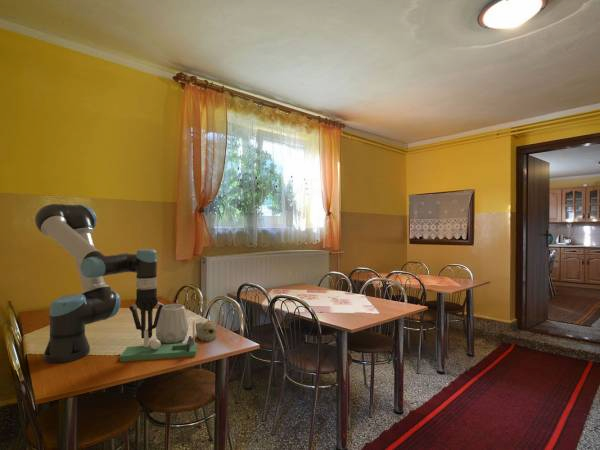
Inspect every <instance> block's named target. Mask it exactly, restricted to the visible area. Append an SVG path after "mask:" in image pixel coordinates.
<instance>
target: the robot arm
mask: <svg viewBox="0 0 600 450" xmlns="http://www.w3.org/2000/svg"><path fill="white" fill-rule="evenodd" d="M34 216H35V217H34V224H35V226H36V228H37V229H38V230H39V232H41V233H42V234H43V235H44V236H46V237H50V238H51V239H52V240H54V241H55V242H56V244H58V245H60V246H61V247H62V248H63V249H64V250H65V251H66V252H67V253H68V254H70V256H72V257H73V258H74V262H75V265H76V269H77V272H78V276H79V279H80V283H81V287H82V291H81V293H76V294H69V295H67V294H66V295H63V296H60V297H58V298H56V299H54V300H52V302H51V304H50V305H49V306H50V307H49V313H48V314H49V339H48V342H47V345H46V348H45V350H44V353H43V360H44V361H45V362H46V363H49V364H50V363H51V364H61V363H67V362H71V361H76V360H79V359H82V358H84V357H86V356H87V355H89V354H90V351H91V349H90V347H91V346H90V343H89V340H88V338H87V336H86V325H90V324H94V323H97V322H100V321H106V320H108V319H110V318H113V317H115V316H116V315H117V314H118V312H119V310H120V308H121V296H120V294H119V293H118V292H117V291H116V290H112V289H111V285H109V284H106V282H105V281H106V280H105V279H104V277H105V276H111V275H117V274H124V273H136V280H135V281H136V288H137V289H136V293H135V294H136V295H135V296H136V299H135V302H134V303H133V304H131V305H129V306H128V309H129V310H130V312H131V313H132V318H133V322H134V325H135V329H136V330H140V331H141V332H140V334H141V335H140V336H141V339H143V346H144V347H148V346H149V345H150V344H151V341H150V339H151V338H152V337H153V330H154V329H156V326H157V324H158V320H159V316H160V312H161V309H162V307H163V306H165V304H164V303H161V302H159V299H158V291H157V289H158V288H157V285H158V278H157V277H158V276H157V275H158V274H157V270H158V269H157V267H158V255H157V250H155V249H138V250H137V251H136V253H128V252H127V253H126V252H125V253H118V254H113V255H111V254H110V255H104V253H102V252H101V251H100V250H98V249H97V248H96V246H95V244H94V240H93V237H92V234H93V233H94V230H95V227H96V226H97V222H98V219H97V214H96V212H95V211H94V209H92V208H91V207H90V206H87V205H82V204H63V203H62V204H61V203H50V204H47V205H44V206H42V207H41V208H40V209H39V210H38V211H37V212H36V215H34ZM155 307H156V309H157V310H156V312H155V317H154V319H153V309H154V308H155ZM137 309H139V310H140V318H139V314H138V310H137ZM146 313H147V314H146ZM146 315H147V316H146ZM146 317H147V322H146ZM153 320H154V321H153ZM146 323H147V324H146ZM146 325H147V326H146Z"/></svg>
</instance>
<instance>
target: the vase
mask: <svg viewBox="0 0 600 450" xmlns="http://www.w3.org/2000/svg"><path fill="white" fill-rule="evenodd" d="M188 331H189V323H188V317H187V312H186V307H185V305H183V304H179V303H174V304H171V303H170V304H166V305H165V304H164V306H163V307H162V309H161V312H160V316H159V320H158V324H157V326H156V328H155V337H156V339H157V340H159V341H160V342H161V343H162V344H177V343H179V342H181V341H184V340H185V339H186V337H187V335H188ZM176 342H177V343H176Z"/></svg>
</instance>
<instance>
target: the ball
mask: <svg viewBox="0 0 600 450" xmlns="http://www.w3.org/2000/svg"><path fill="white" fill-rule="evenodd" d="M161 343H162V342H160V341H159V340H158V339H157V338H155V339H153V340H152V341H150V347H151V349H153V350H157V349H159V348H160V346H161V345H162V344H161Z"/></svg>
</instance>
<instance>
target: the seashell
mask: <svg viewBox="0 0 600 450" xmlns="http://www.w3.org/2000/svg"><path fill="white" fill-rule="evenodd" d="M195 334H196V335H197V337H198V339H199V340H200V341H201V342H212V341H214V340H215V339H216V337H217V336H216V335H217V326H216V324H215V323H213V322H212V321H200V322H195Z"/></svg>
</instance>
